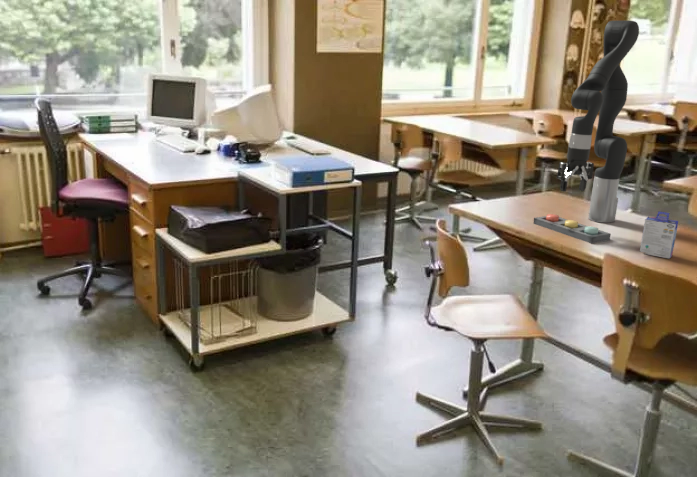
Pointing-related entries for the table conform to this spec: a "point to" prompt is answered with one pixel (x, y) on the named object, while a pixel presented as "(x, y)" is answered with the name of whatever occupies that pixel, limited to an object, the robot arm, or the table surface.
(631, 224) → the table surface
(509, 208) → the table surface
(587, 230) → the teal button
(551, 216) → the red button
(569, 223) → the ochre button
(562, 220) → the button panel
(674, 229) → the ink cartridge box
